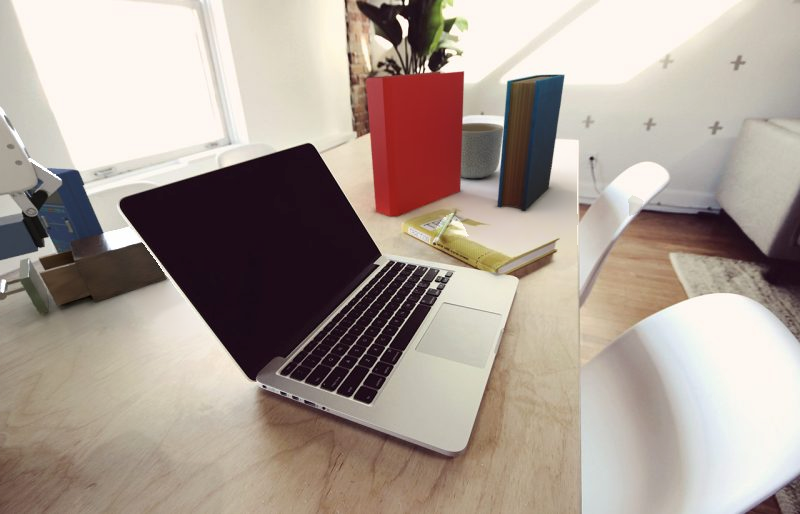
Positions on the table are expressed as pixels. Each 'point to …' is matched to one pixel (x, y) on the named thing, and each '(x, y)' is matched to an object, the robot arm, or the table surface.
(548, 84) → the book
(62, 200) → the electronic device
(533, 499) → the table surface
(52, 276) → the drawer
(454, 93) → the book
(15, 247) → the block
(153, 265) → the cabinet
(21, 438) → the table surface
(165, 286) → the table surface
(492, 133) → the planter
